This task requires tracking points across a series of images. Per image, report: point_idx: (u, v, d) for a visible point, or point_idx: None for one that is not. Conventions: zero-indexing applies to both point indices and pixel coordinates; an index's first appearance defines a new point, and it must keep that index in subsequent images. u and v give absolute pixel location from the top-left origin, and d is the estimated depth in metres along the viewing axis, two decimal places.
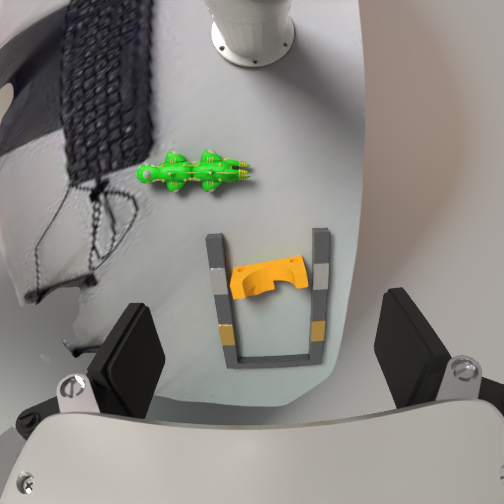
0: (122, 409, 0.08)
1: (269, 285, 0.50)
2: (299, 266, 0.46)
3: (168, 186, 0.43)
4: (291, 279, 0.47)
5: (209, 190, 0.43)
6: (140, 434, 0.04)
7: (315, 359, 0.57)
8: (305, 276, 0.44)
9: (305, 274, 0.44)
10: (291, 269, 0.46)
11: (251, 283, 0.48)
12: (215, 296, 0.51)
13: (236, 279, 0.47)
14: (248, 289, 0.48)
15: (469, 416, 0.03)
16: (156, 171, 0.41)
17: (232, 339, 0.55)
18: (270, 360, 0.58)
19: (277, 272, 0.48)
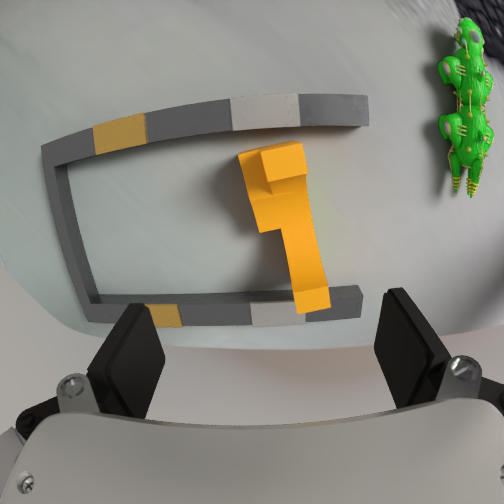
0: (122, 410, 0.08)
1: (268, 221, 0.23)
2: None
3: (454, 59, 0.16)
4: (299, 272, 0.22)
5: (449, 125, 0.18)
6: (140, 434, 0.04)
7: (95, 314, 0.28)
8: (321, 306, 0.21)
9: (326, 306, 0.21)
10: (323, 270, 0.22)
11: (283, 187, 0.20)
12: (224, 102, 0.20)
13: None
14: (274, 182, 0.19)
15: (469, 416, 0.03)
16: (478, 51, 0.14)
17: (109, 147, 0.21)
18: (71, 231, 0.25)
19: (300, 236, 0.23)
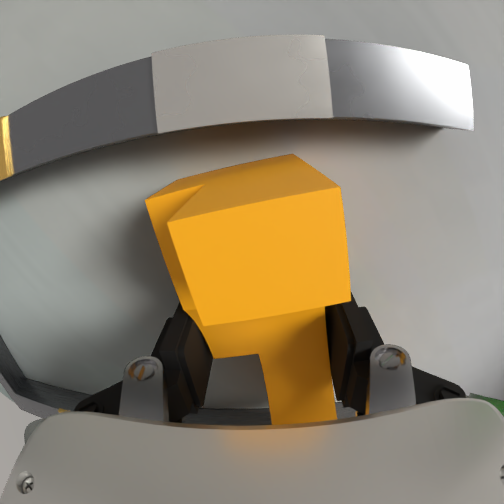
0: (188, 391, 0.08)
1: (231, 341, 0.10)
2: None
3: None
4: None
5: None
6: (140, 434, 0.04)
7: (23, 404, 0.15)
8: None
9: None
10: None
11: None
12: (139, 66, 0.07)
13: None
14: None
15: (469, 416, 0.03)
16: None
17: None
18: None
19: (299, 368, 0.10)
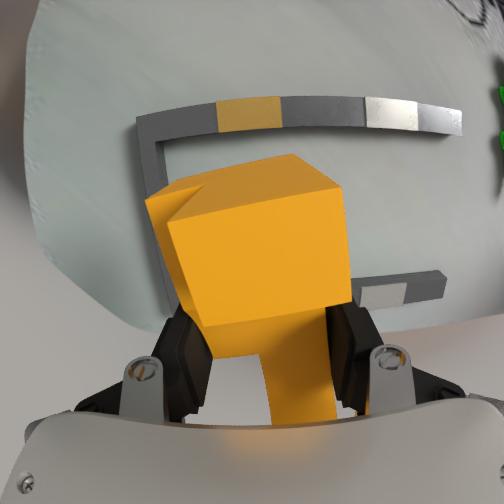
0: (188, 391, 0.08)
1: (231, 341, 0.10)
2: None
3: None
4: None
5: None
6: (140, 434, 0.04)
7: None
8: None
9: None
10: None
11: None
12: (359, 99, 0.20)
13: None
14: None
15: (469, 416, 0.03)
16: None
17: (237, 126, 0.21)
18: None
19: (299, 368, 0.10)
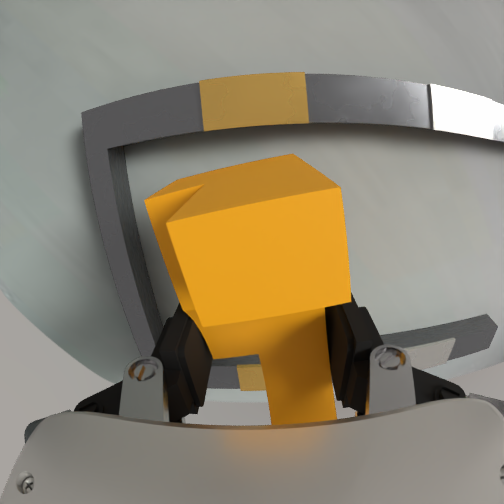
0: (188, 391, 0.08)
1: (231, 342, 0.10)
2: None
3: None
4: None
5: None
6: (140, 434, 0.04)
7: None
8: None
9: None
10: None
11: None
12: (422, 87, 0.11)
13: None
14: None
15: (469, 416, 0.03)
16: None
17: (235, 120, 0.13)
18: (134, 259, 0.17)
19: (299, 368, 0.10)
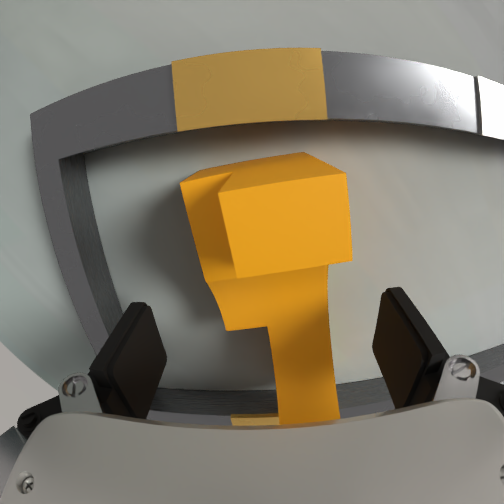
0: (124, 408, 0.08)
1: (244, 314, 0.12)
2: None
3: None
4: (296, 407, 0.11)
5: None
6: (140, 434, 0.04)
7: None
8: None
9: None
10: (337, 402, 0.11)
11: None
12: (468, 80, 0.07)
13: None
14: None
15: (469, 416, 0.03)
16: None
17: (221, 115, 0.09)
18: (101, 296, 0.13)
19: (303, 341, 0.12)
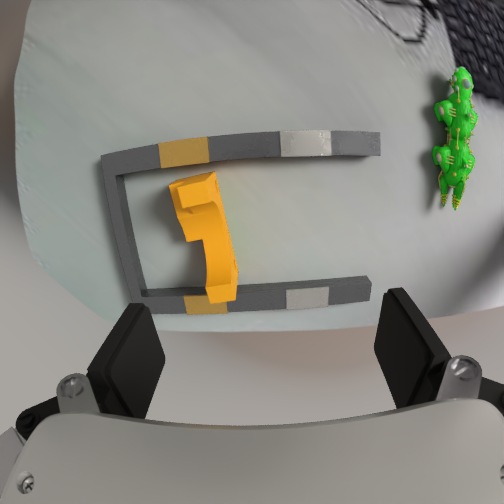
0: (122, 409, 0.08)
1: (193, 233, 0.30)
2: (235, 281, 0.31)
3: (448, 103, 0.24)
4: (214, 273, 0.30)
5: (440, 155, 0.26)
6: (140, 434, 0.04)
7: None
8: (228, 299, 0.29)
9: (231, 299, 0.29)
10: (231, 271, 0.30)
11: (200, 209, 0.28)
12: (274, 133, 0.26)
13: (210, 187, 0.26)
14: (191, 207, 0.27)
15: (469, 416, 0.03)
16: (467, 96, 0.22)
17: (175, 163, 0.27)
18: (128, 232, 0.31)
19: (217, 245, 0.30)
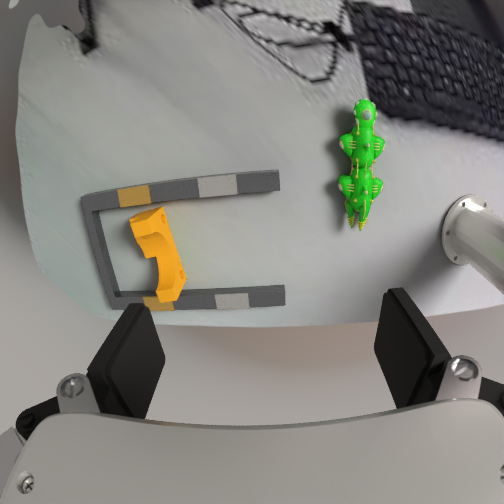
0: (122, 410, 0.08)
1: (149, 252, 0.41)
2: (179, 287, 0.41)
3: (348, 136, 0.33)
4: (163, 280, 0.40)
5: (341, 185, 0.36)
6: (140, 434, 0.04)
7: (117, 304, 0.45)
8: (171, 299, 0.39)
9: (174, 299, 0.39)
10: (175, 280, 0.40)
11: (150, 236, 0.38)
12: (194, 180, 0.37)
13: (154, 222, 0.36)
14: (143, 235, 0.37)
15: (469, 416, 0.03)
16: (368, 126, 0.32)
17: (129, 203, 0.38)
18: (103, 251, 0.42)
19: (165, 260, 0.41)
